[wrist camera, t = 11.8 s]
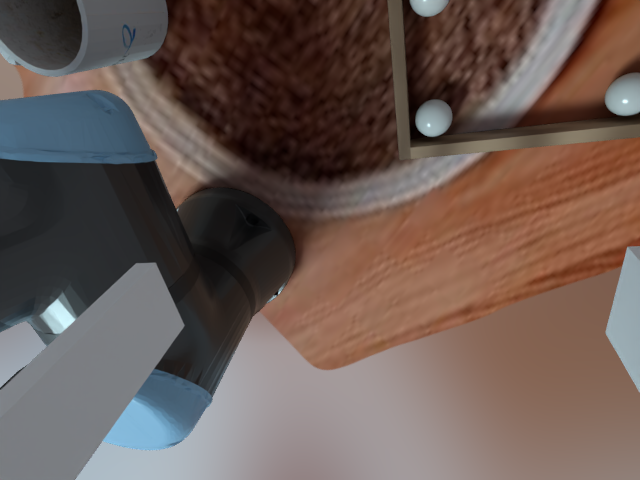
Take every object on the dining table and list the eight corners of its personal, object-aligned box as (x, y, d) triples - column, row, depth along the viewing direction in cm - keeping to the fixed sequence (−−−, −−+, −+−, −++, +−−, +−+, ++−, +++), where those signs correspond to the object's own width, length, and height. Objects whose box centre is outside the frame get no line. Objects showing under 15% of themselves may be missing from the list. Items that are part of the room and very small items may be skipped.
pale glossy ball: (416, 133, 35) (416, 143, 32) (414, 98, 33) (414, 106, 31) (451, 129, 34) (454, 139, 31) (451, 93, 32) (453, 101, 30)
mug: (136, -72, 31) (34, -99, 23) (184, 44, 35) (111, 57, 26) (30, -17, 35) (-90, -23, 26) (84, 81, 39) (-7, 102, 30)
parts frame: (400, 150, 36) (399, 160, 34) (386, -46, 28) (383, -50, 26) (657, 124, 30) (675, 133, 28) (721, -126, 23) (751, -138, 21)
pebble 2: (595, 112, 31) (610, 122, 28) (602, 73, 29) (619, 79, 27) (639, 107, 30) (659, 117, 28) (648, 66, 29) (671, 72, 26)
